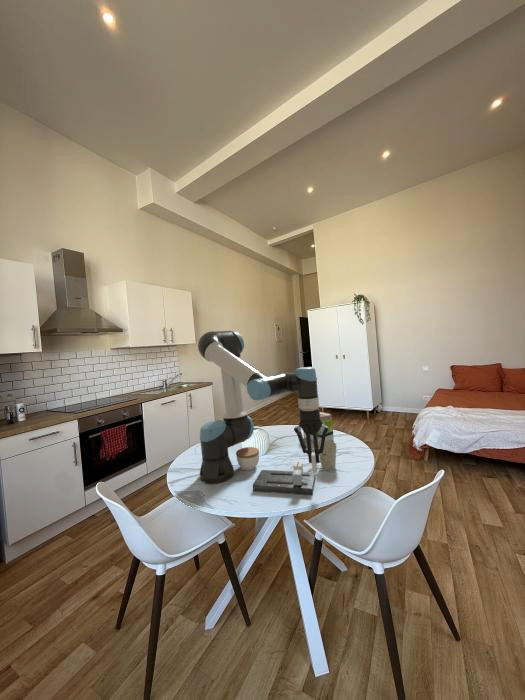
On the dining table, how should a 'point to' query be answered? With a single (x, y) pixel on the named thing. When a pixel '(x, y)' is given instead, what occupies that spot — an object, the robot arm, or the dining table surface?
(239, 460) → the lidded jar
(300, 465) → the fader left
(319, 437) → the tea box
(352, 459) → the dining table surface
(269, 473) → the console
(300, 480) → the fader right
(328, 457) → the mug
